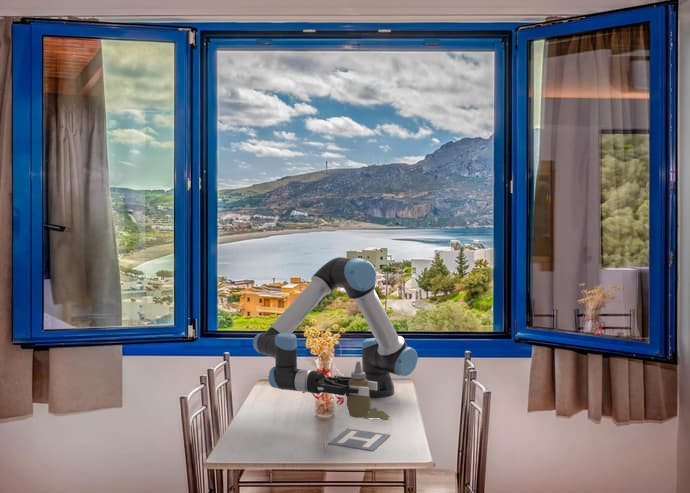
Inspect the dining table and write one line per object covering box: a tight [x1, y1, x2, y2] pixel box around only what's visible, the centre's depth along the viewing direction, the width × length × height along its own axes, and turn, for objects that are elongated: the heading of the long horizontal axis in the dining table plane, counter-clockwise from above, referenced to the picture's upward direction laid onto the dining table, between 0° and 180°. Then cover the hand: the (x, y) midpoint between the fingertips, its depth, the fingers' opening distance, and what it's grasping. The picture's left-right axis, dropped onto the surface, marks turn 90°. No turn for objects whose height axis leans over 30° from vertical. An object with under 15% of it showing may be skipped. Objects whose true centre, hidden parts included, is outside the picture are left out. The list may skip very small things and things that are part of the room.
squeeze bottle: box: [346, 361, 372, 419], centre depth 199 cm, size 8×8×18 cm
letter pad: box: [328, 427, 391, 452], centre depth 200 cm, size 15×16×1 cm
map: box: [364, 407, 391, 421], centre depth 222 cm, size 11×18×1 cm, turn 15°
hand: (372, 389), depth 197 cm, fingers closed on squeeze bottle, 6 cm apart
